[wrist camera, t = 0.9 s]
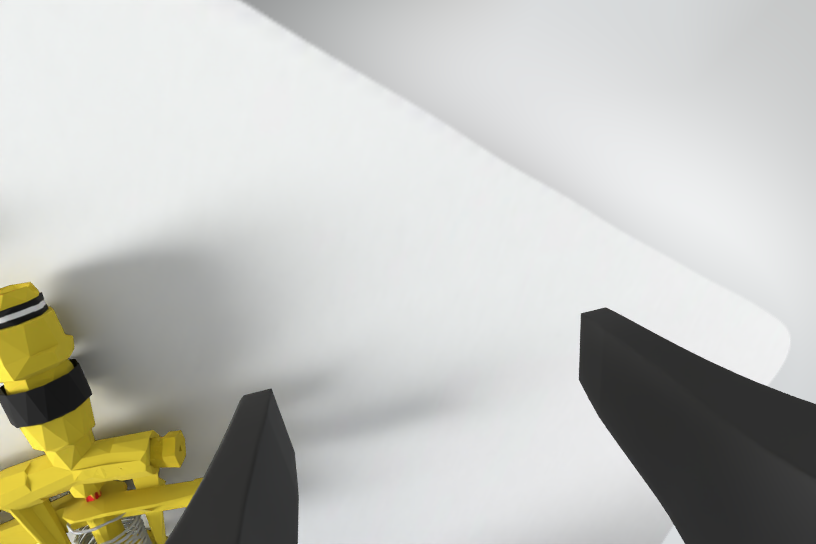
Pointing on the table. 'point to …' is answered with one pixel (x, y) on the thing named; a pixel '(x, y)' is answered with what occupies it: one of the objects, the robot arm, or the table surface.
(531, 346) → the table surface
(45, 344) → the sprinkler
